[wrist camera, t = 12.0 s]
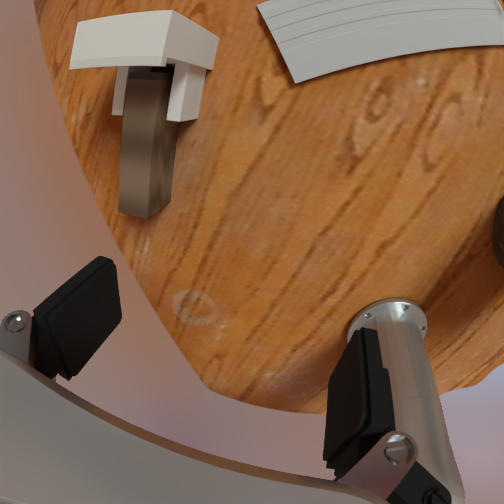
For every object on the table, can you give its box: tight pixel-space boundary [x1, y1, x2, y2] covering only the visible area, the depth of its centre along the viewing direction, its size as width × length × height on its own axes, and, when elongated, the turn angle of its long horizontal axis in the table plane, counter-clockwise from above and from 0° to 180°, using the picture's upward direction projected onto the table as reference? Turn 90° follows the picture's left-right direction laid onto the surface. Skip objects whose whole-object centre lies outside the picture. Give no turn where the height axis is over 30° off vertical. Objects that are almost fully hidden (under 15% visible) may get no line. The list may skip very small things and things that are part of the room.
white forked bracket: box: [69, 10, 219, 122], centre depth 23 cm, size 10×10×12 cm
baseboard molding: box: [257, 0, 504, 84], centre depth 19 cm, size 31×3×12 cm
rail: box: [119, 72, 179, 220], centre depth 30 cm, size 16×4×6 cm, turn 169°
